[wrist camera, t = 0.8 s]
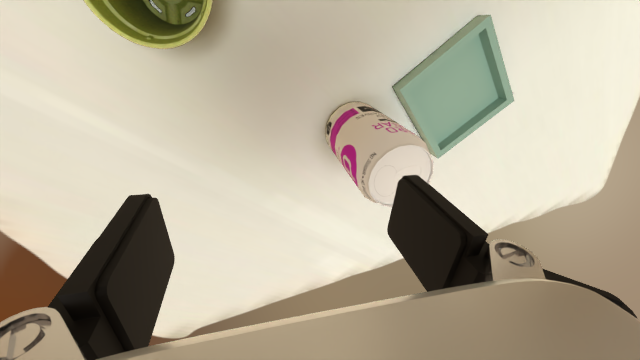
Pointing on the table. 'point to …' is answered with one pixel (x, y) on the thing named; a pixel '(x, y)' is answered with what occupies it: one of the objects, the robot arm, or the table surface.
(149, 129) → the table surface
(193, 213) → the table surface
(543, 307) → the robot arm
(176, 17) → the plant pot
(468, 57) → the tray
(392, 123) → the supplement can
